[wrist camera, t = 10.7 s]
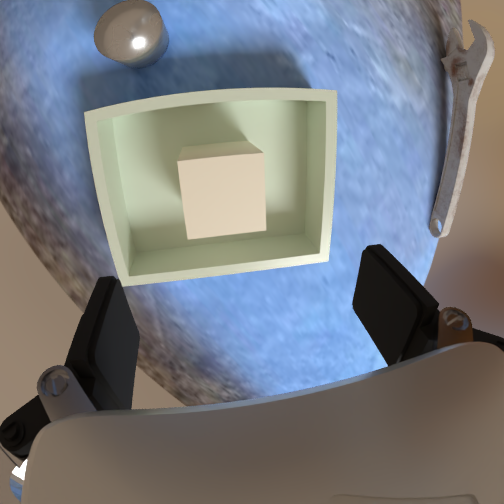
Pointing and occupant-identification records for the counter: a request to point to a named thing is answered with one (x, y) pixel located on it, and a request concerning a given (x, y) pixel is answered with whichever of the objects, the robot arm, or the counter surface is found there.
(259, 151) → the flour box
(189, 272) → the crate
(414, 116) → the counter surface
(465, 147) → the wrench
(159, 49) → the tea tin
